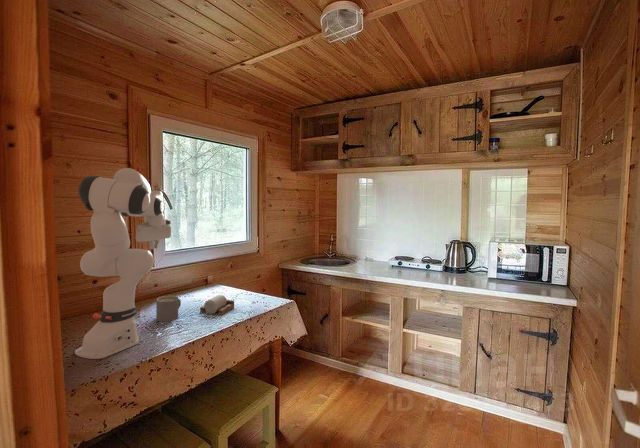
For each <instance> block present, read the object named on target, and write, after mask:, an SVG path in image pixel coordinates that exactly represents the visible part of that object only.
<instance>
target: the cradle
mask: <svg viewBox="0 0 640 448" xmlns="http://www.w3.org/2000/svg"><path fill="white" fill-rule="evenodd" d="M226 300H227V303H226V306H225V307H223V308H221V309H219V310H218V311H217V314H219V316H222V314H223V315H225V314H226V313H228V312H230V311H231V310H232V308H233V307H234V308H235V300H232V299H226ZM234 308H233V309H234ZM230 309H231V310H230ZM227 311H228V312H227ZM199 312H200V313H205V312H206V310H205V308H204V305H202V306H201V307H200V309H199ZM225 312H226V313H225ZM224 313H225V314H224Z"/></svg>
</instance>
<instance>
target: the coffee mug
mask: <svg viewBox="0 0 640 448" xmlns="http://www.w3.org/2000/svg"><path fill="white" fill-rule="evenodd" d="M155 302H156V306H155V307H156V310H155V312H156V314H155V315H156V316H155V318H156V319H155V320H156V321H158V322H160V323H161V322H162V323H164V322H168V323H169V322H172V321H176V320H177V319H179V309H180V308H181V303H182V302H181V298H179V297H178V296H177V295H163V296H159V297H157V299H156V301H155Z"/></svg>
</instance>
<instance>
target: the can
mask: <svg viewBox="0 0 640 448" xmlns="http://www.w3.org/2000/svg"><path fill="white" fill-rule="evenodd" d="M227 300H228V299H227V298H226V296H224V295H223V294H218V295H216V296H214V297H212V298H210V299H208V300H207V301H205V303H204V305H203V306H204V308H205V310H206V311H205V312H206V313H208V314H210V315H213V314H215V313H216V312H217V313H218V310H219V309H221V308H223V307H225V306H226V303H227Z"/></svg>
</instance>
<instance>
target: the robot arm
mask: <svg viewBox="0 0 640 448" xmlns="http://www.w3.org/2000/svg"><path fill="white" fill-rule="evenodd" d="M77 193H78V197H79V199H80V201H81V202H82V204H83V205H84V207H85V208H86V209H87V210H88V211H89V212H92V211H93V214H92V216H91V217H90V232H91V236H92V239H93V242H94V248H93V249H91V250H89V251H86V252H85V253H84V254H83V255H82V256H81V258H80V261H79V267H80V270H81V271H82V272H83V275H86V276H91V277H117V276H119V277H120V279H119V281H116V282H115V283H112V284H110V285H109V286H107V287H106V288H104V291H103V293H102V309H101V312H100V313H97V312H95V313H93V315H92V317H93V319H97V320H98V321H97V322H96V323H95V324H94V326H93V327H91V329H89V330H88V331H87V333H86V334H84V337H83V339H82V345H81V346H80V347H78V348H77V349H75V350H74V355H76V356H77V357H80V358H84V359H91V360H99V359H104V358H107V357H109V356H112V355H114V354H116V353H119V352H122V351H123V350H126V349H128V348H130V347H134V346H136V345H139V344H140V341H139V340H140V335H139V333H138V328H137V322H136V315H137V314H136V313H137V312H136V311H137V310H136V308H137V307H136V305H135V299H136V298H135V297H136V289H137V286H138V283H139V282H140V280H141V279H142V278H143V277H144V276H145V275H147V274H148V273H149V272H150V271H151V270H153V266H154V265H155V264H154V263H155V258H154V255H153V253H152V252H151V251H150V250H148V249H142V248H130V246H131V239H130V234H129V231H128V230H129V229H128V226H127V224H126V222H125V219H124V217H127V218H128V217H144V218H143V221H144V222H140V223H139V224H138V225H137V226H136V230H135V231H136V232H135V241H136V242H138V243H145V242H148V244H149V246H150V249H151V250H155V249H158V247H159V246H158V245H159V244H160V240H165V239H170V238H171V237H172V236H171V235H172V227H171V225H172V220H169V219H167V218H164V217H165V216H164V212H165V202H164V195H163V192H162V191H161V190H157V189H151V185H150V182H149V181H148V180H147V179H146V178H145V176H144V175H142V173H140V172H139V171H137V170H136V169H133V168H131V167H124V168H121V169H119V170H117V171H116V172H115V173H114V175H113V178H109V177H102V176H101V175H100V176H99V175H88V176H86V177H84V178H83V179H82V180H81V181H80V183H79V185H78V191H77Z"/></svg>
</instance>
